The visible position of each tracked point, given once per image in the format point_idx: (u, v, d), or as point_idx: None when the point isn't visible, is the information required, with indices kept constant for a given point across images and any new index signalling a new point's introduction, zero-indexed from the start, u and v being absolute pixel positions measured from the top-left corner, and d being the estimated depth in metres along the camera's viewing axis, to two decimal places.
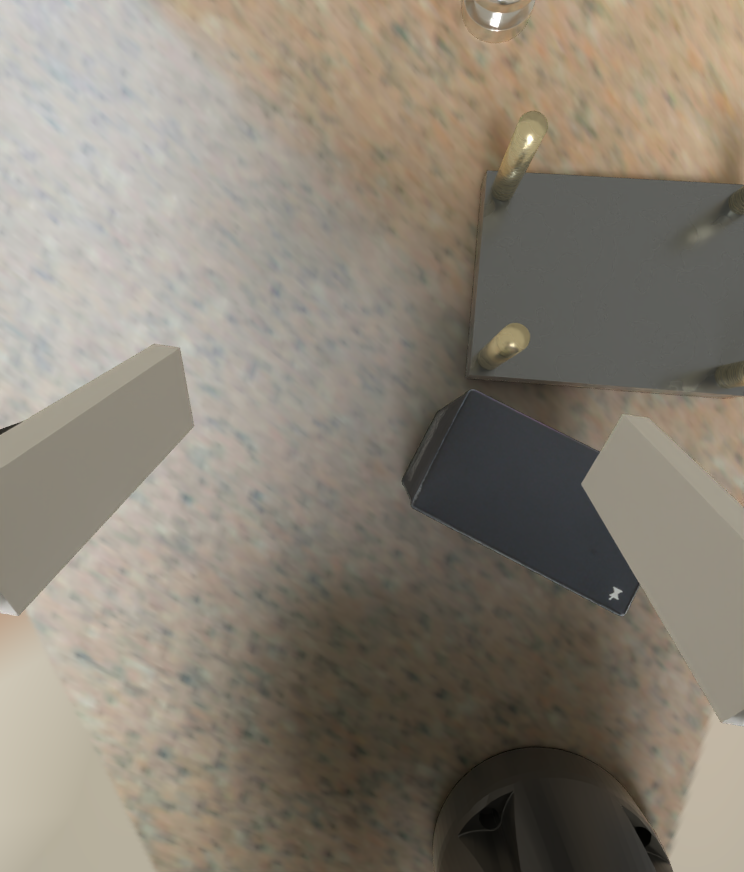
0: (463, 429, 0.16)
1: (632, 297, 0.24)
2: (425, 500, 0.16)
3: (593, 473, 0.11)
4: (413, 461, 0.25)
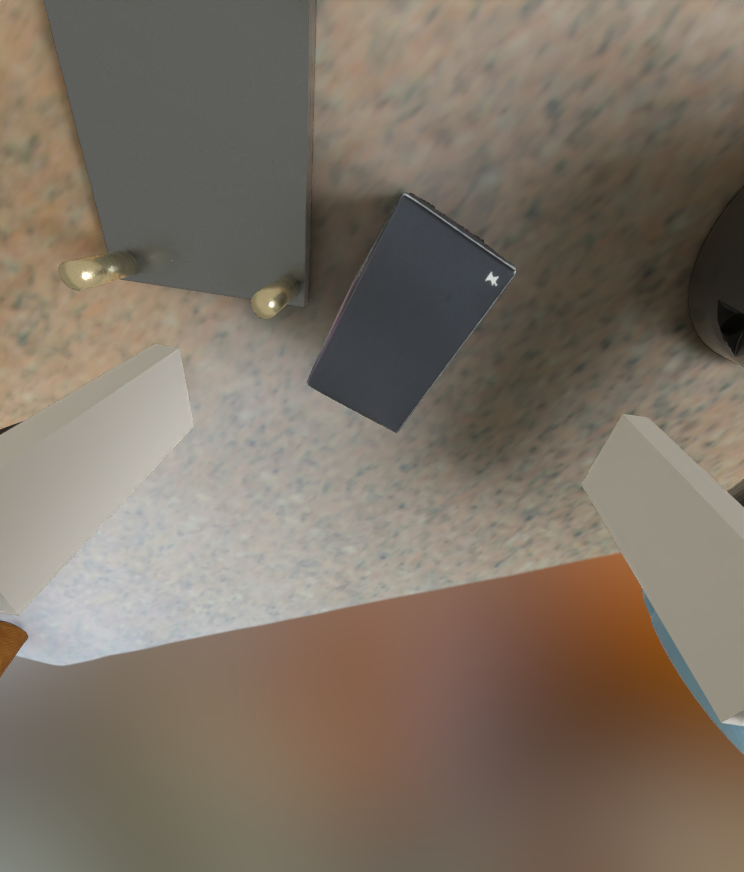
0: (338, 393, 0.20)
1: (203, 108, 0.21)
2: (392, 425, 0.21)
3: (594, 473, 0.11)
4: None
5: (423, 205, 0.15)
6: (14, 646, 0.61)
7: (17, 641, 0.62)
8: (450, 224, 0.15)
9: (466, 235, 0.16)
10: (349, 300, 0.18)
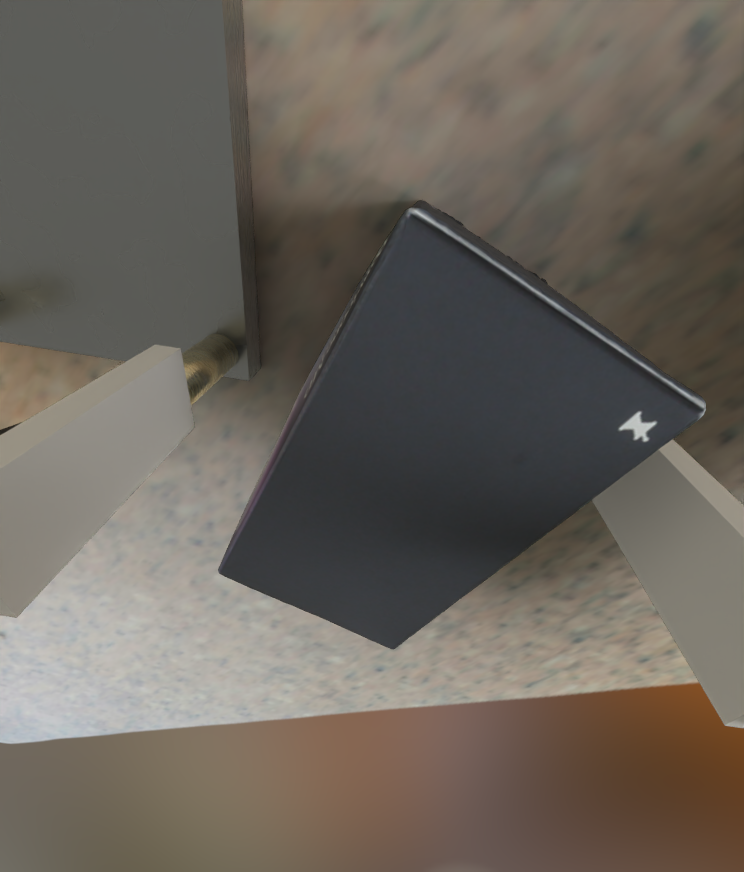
0: (280, 593, 0.10)
1: (32, 42, 0.11)
2: (385, 641, 0.11)
3: None
4: None
5: (467, 243, 0.05)
6: None
7: None
8: (542, 295, 0.05)
9: (583, 323, 0.06)
10: (283, 449, 0.08)
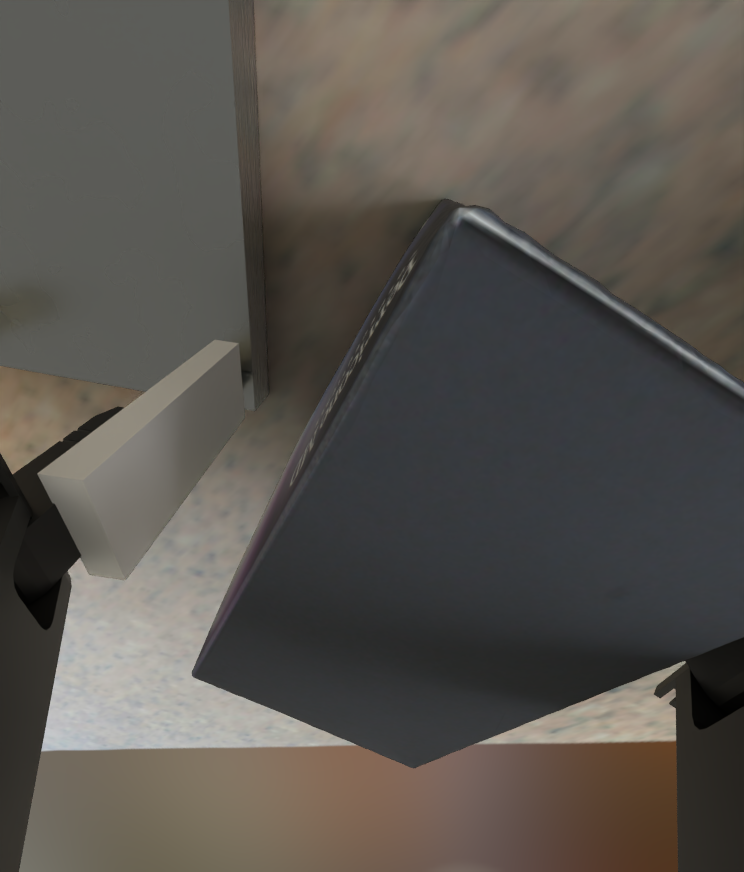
0: (269, 704, 0.08)
1: None
2: (404, 762, 0.09)
3: None
4: None
5: (564, 269, 0.03)
6: None
7: None
8: (697, 359, 0.03)
9: None
10: (262, 555, 0.05)
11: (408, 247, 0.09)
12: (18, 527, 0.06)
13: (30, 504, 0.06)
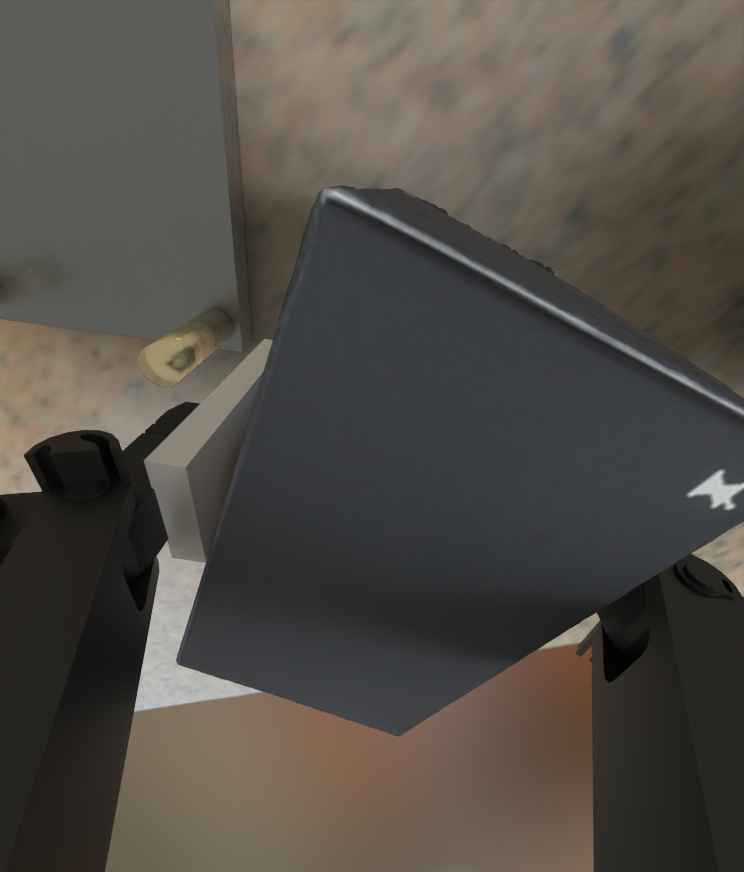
0: (253, 684, 0.09)
1: (41, 42, 0.12)
2: (388, 730, 0.09)
3: None
4: None
5: (426, 237, 0.03)
6: None
7: None
8: (557, 310, 0.03)
9: (627, 347, 0.04)
10: (217, 534, 0.06)
11: None
12: (127, 513, 0.06)
13: (135, 492, 0.07)
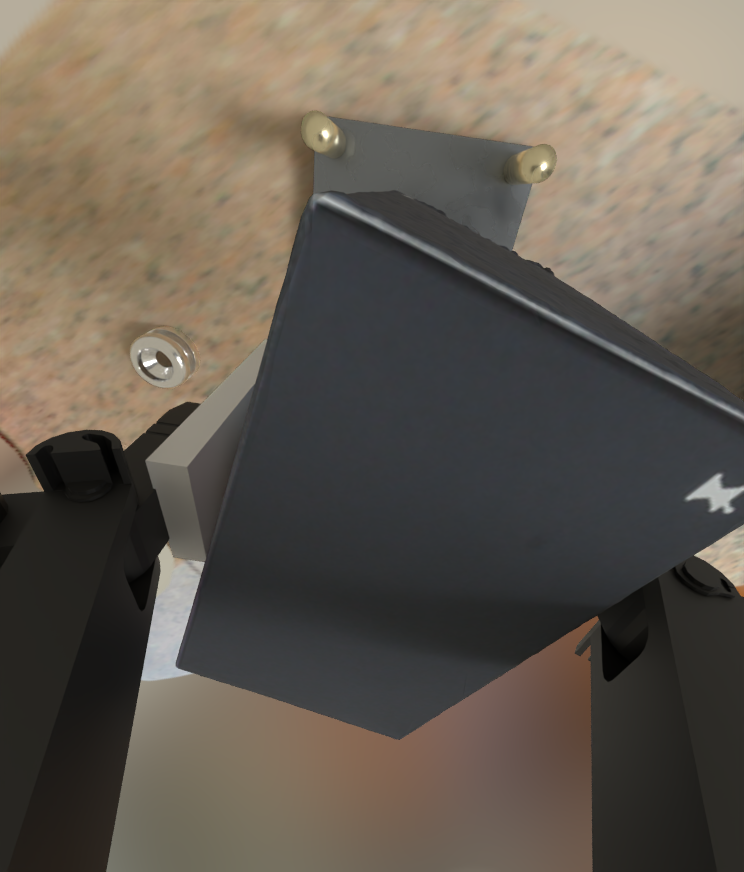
0: (252, 687, 0.08)
1: None
2: (388, 734, 0.09)
3: None
4: None
5: (417, 241, 0.03)
6: None
7: None
8: (550, 314, 0.03)
9: (622, 351, 0.03)
10: (214, 539, 0.06)
11: None
12: (129, 513, 0.06)
13: (137, 492, 0.07)
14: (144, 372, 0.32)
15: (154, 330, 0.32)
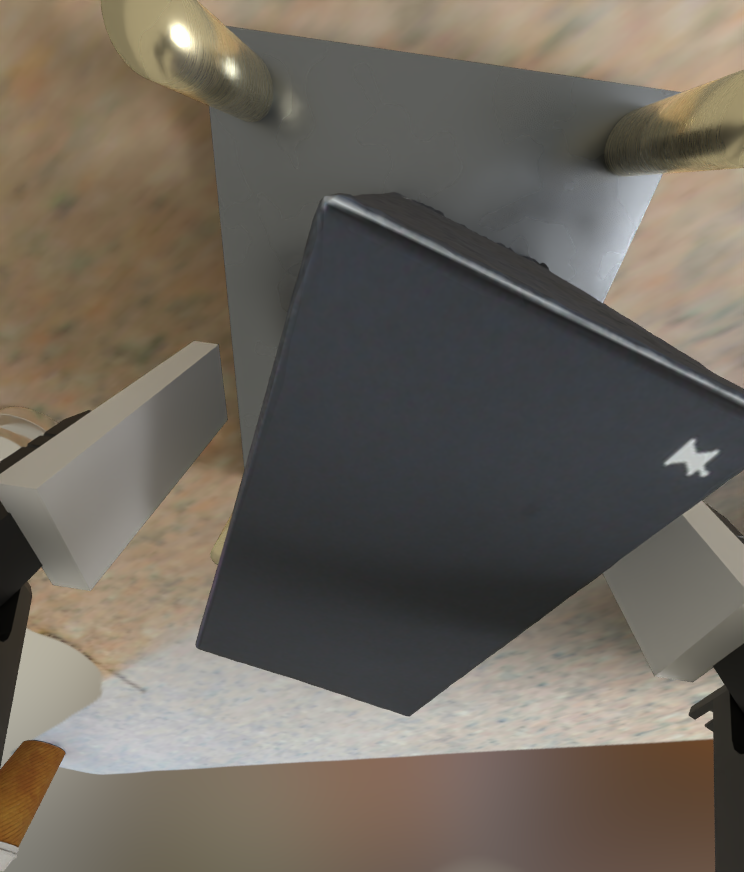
0: (268, 666, 0.09)
1: None
2: (398, 710, 0.09)
3: None
4: None
5: (415, 235, 0.04)
6: (51, 770, 0.55)
7: (55, 763, 0.55)
8: (533, 296, 0.04)
9: (599, 328, 0.04)
10: (234, 516, 0.06)
11: None
12: None
13: None
14: None
15: None
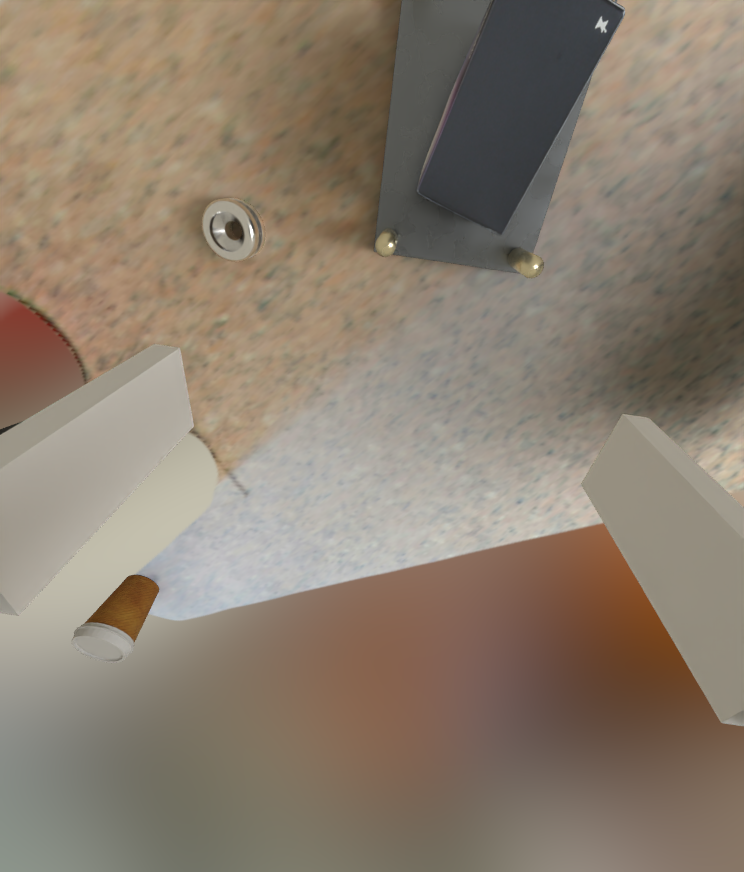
0: (447, 196, 0.22)
1: None
2: (498, 224, 0.22)
3: (594, 473, 0.11)
4: None
5: None
6: (152, 597, 0.68)
7: (153, 593, 0.68)
8: None
9: None
10: (462, 81, 0.19)
11: None
12: None
13: None
14: (215, 242, 0.33)
15: None
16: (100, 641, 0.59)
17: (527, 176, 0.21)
